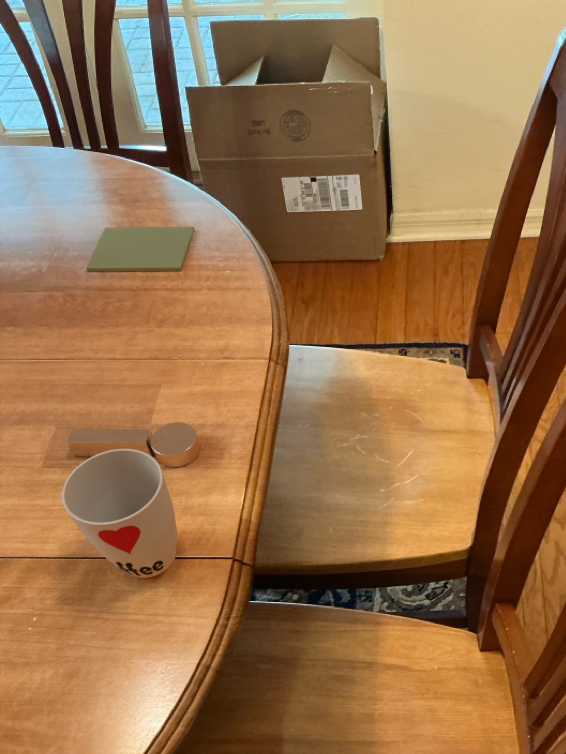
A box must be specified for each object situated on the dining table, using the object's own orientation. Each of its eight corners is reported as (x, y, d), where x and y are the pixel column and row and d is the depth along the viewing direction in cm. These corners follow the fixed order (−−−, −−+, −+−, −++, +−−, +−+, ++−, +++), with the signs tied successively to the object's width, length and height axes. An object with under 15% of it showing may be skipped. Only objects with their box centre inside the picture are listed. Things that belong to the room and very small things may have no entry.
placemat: (87, 271, 97) (86, 268, 97) (106, 230, 102) (104, 227, 102) (181, 270, 97) (180, 267, 96) (194, 230, 102) (194, 226, 101)
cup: (87, 578, 69) (41, 510, 61) (133, 511, 74) (96, 439, 66) (166, 602, 68) (129, 535, 60) (208, 531, 72) (180, 460, 64)
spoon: (71, 467, 78) (62, 452, 76) (83, 434, 80) (75, 419, 78) (196, 467, 77) (190, 452, 75) (204, 434, 80) (199, 419, 78)
